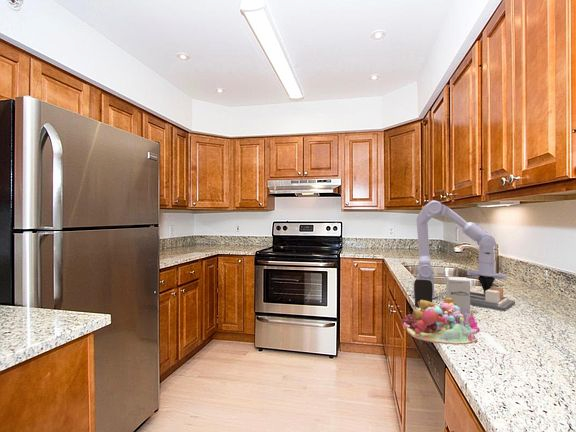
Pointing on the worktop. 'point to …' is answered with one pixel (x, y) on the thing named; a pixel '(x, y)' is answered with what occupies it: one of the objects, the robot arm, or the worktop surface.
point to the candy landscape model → (441, 323)
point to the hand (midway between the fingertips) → (486, 294)
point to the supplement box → (459, 291)
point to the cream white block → (492, 296)
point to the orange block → (498, 290)
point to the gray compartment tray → (479, 300)
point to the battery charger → (423, 290)
